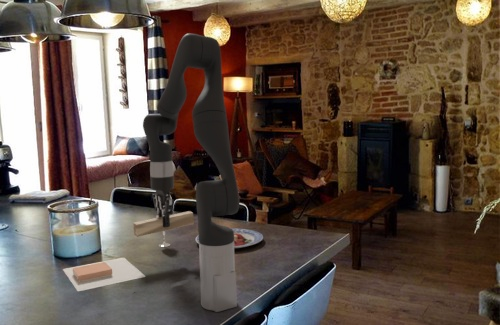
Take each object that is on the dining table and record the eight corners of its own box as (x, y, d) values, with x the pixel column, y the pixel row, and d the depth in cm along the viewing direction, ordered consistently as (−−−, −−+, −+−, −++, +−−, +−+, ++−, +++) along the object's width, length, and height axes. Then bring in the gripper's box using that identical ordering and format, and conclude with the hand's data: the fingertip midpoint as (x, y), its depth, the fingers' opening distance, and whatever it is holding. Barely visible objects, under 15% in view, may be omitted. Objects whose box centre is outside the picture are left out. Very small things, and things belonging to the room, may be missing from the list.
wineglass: (157, 248, 176) (155, 216, 174) (156, 243, 181) (154, 213, 180) (172, 246, 177) (171, 215, 176) (171, 242, 183) (170, 211, 181)
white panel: (146, 279, 145) (145, 276, 145) (78, 294, 134) (77, 291, 134) (123, 260, 163) (123, 257, 163) (62, 272, 153) (62, 269, 153)
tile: (112, 269, 146) (78, 276, 141) (112, 275, 146) (78, 282, 141) (104, 262, 153) (72, 268, 147) (105, 267, 153) (73, 274, 148)
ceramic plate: (182, 248, 176) (181, 240, 176) (218, 230, 199) (218, 223, 199) (242, 257, 164) (242, 248, 164) (274, 237, 187) (274, 230, 187)
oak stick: (194, 224, 162) (193, 212, 162) (137, 236, 152) (136, 224, 151) (190, 222, 165) (189, 211, 164) (134, 234, 154) (133, 222, 154)
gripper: (181, 176, 152) (183, 228, 154) (164, 171, 164) (166, 220, 166) (159, 178, 148) (161, 232, 150) (143, 173, 160) (146, 223, 162)
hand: (164, 225), depth 158 cm, fingers closed on oak stick, 3 cm apart
